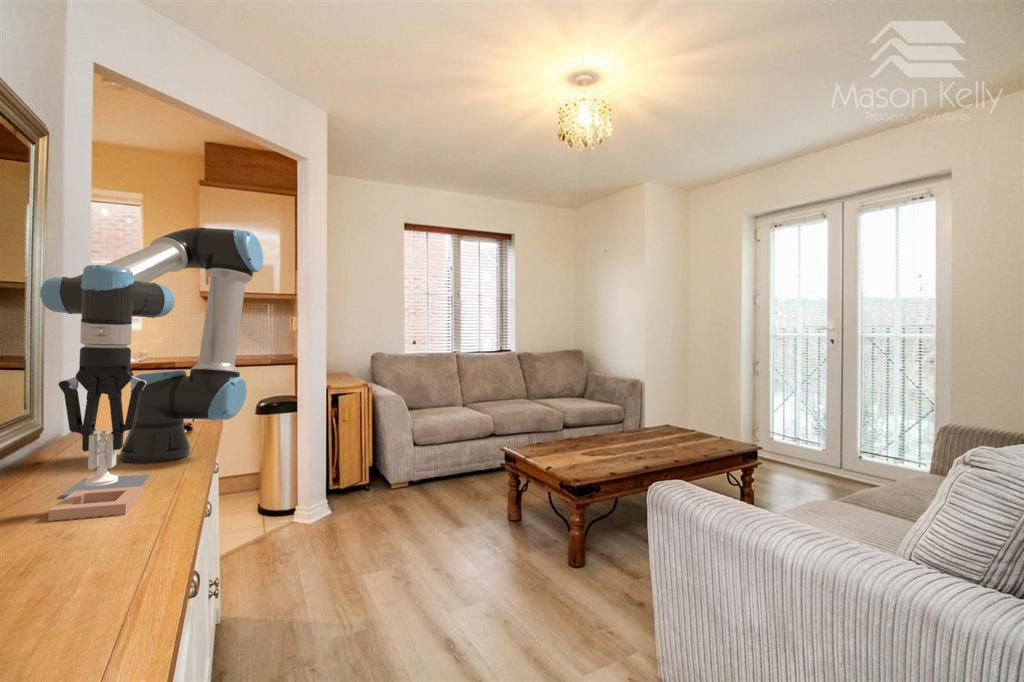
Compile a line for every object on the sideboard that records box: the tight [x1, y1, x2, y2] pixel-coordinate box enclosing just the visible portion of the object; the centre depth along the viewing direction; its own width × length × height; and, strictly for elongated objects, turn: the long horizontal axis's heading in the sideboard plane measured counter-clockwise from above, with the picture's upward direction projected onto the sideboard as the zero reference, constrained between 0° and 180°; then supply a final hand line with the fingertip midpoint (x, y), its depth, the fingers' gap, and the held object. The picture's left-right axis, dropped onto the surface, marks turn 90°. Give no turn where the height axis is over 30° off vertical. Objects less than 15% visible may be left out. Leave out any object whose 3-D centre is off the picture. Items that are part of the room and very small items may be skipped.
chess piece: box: [85, 430, 119, 486], centre depth 92 cm, size 5×5×10 cm
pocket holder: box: [47, 485, 144, 522], centre depth 91 cm, size 11×11×2 cm
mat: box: [59, 473, 151, 499], centre depth 103 cm, size 12×12×1 cm
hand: (102, 466), depth 92 cm, fingers closed on chess piece, 2 cm apart
